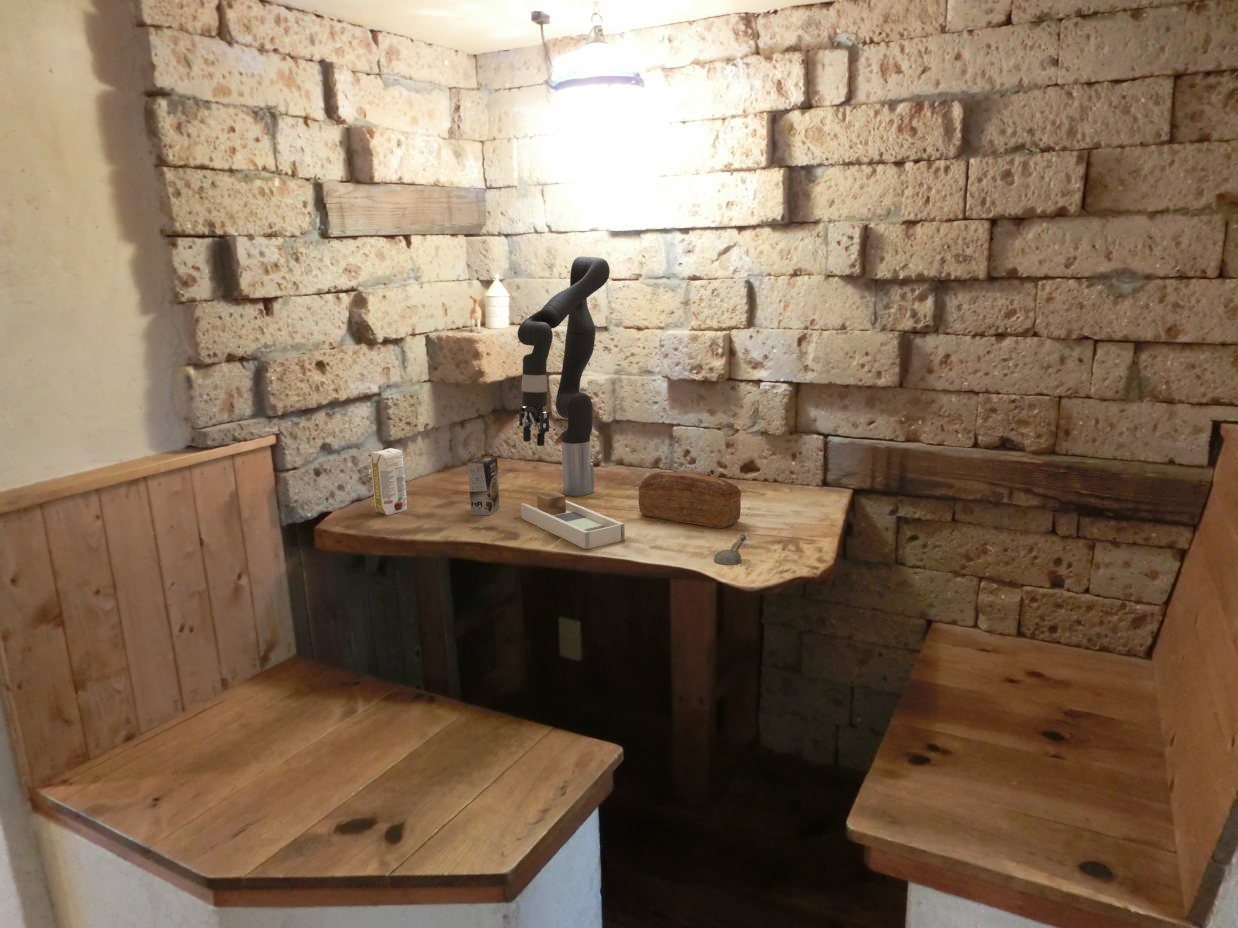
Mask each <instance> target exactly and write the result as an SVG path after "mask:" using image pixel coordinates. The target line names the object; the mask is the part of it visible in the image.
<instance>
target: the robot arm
mask: <svg viewBox="0 0 1238 928" xmlns="http://www.w3.org/2000/svg"><path fill="white" fill-rule="evenodd" d="M571 264H572V265H571V267H570V268H571V269H570V277H569V287H567V288H565V289H563V290H561V291H559V292H558V293H556V294H555V295H553V296H552V298H550V299H549V300H548V301H547V302H546V304H545V305H543V307H542V308H541V309H540V310H538V311H537V312H534V313H533V314H532V315H530V316H529V317H527V318H526V319H524V320H523V321H522V322H521V324H520V325H519V327H518V330H517V339H518V341H519V343H521V344H523V345H525V346H529V347H532V346H533V348H532V352H531V353H529V354H524V356H523V358H522V379H521V405H522V406H520V407H519V416H518V417H519V423H518V425H519V427H521V428H522V440H523V442H525V443H527V442H531V440H532V435H531V433H532V430H531V427H532V426H533V427H534V428H535V430H536V446H538V447H542V446H543V447H544V446H545V434H546V433H548V432H550V412H549V411H544V408H543V407H546V406H547V403H548V379H547V377H548V376H547V365H548V364H547V362H548V361H547V360H548V357H549V356H550V355H549V354H550V350H551V346H552V343H553V338H554V337H553V336H554V335H553V329H556V328H558V327H559V326H560V325H561V324H562V322H563V321H565V319H566V318H567V324H566V325H567V327H566V334H565V341H564V352H563V353H564V354H563V359H562V367H561V374H560V381H559V384H558V389H557V394H556V398H555V409H556V412H557V414H558V415H559V416H560V417H561V418H563V419H566V420H567V428H566V430H563V431H562V432H561V435H560V437H561V438H560V439H561V464H562V465H561V466H562V467H561V469H562V486H563V487H562V490H563V491H562V493H563V495H565V496H566V495H567V496H572V497H573V496H574V497H580V496H586V495H589V494H592V493H594V492H595V481H594V480H595V473H594V472H595V470H594V463H593V462H591V461H592V460H591V434H592V432H593V415H594V414H593V401H592V400H591V397H590V396H589V395H588V394H587V393H585V392H582V391H580V388H581V387H580V386H581V378H582V375H583V373H584V370H585V369H586V367H587V365H588V363H589V361H590V359H591V358H592V356H593V353H594V347H595V342H596V341H595V340H596V327H595V323H594V320H593V317H592V315H591V313H590V309H589V307H588V297H589V298H590V296H591V295H593V294H594V293H596V292H597V291H598V290H599V289H601V288H602V287H603V286H605V284H606V283H607V281H608V280H609V277H610V273H611V272H610V271H611V270H610V265H609V263H608V261H607V260H606V259H604V258H602V257H598V256H577V257H575V259H573V261H572V263H571Z"/></svg>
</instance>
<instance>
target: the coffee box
mask: <svg viewBox="0 0 1238 928" xmlns="http://www.w3.org/2000/svg"><path fill="white" fill-rule="evenodd" d="M467 466H468V468H467V469H468V485H469V502H470V503H469V504H470V515H478V516H491V515H492V514H493V513H495V512H496V511H497V510H498V509H499V508H500V507H501V505H500V487H499V486H500V485H499V484H500V483H499V470H498V469H499V467H498V456H477V457H476V458H474V459H472V460H471V461H469V462H468V463H467Z"/></svg>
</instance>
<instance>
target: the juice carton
mask: <svg viewBox="0 0 1238 928" xmlns="http://www.w3.org/2000/svg"><path fill="white" fill-rule="evenodd" d="M370 466H371V468H370V469H371V475H372V476H371V477H372V489H373V490H372V491H373V499H374V506H375V510H376V513H379V514H382V515H386V516H390V515H394V514H398V513H403V512H406V511H407V509H408V508H407V506H408V504H407V503H408V502H407V501H408V500H407V488H406V477H405V476H406V475H405V473H406V472H405V463H404V456H403V450H401V449H397V448H391V447H390V448H385V449H383V450H377V451H376V450H375V451H371V452H370Z"/></svg>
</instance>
